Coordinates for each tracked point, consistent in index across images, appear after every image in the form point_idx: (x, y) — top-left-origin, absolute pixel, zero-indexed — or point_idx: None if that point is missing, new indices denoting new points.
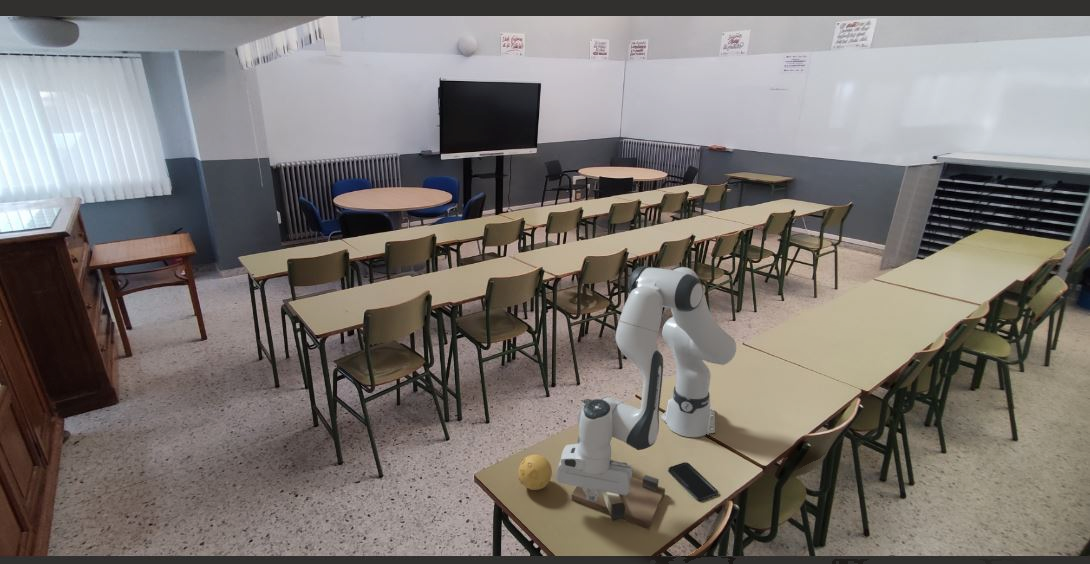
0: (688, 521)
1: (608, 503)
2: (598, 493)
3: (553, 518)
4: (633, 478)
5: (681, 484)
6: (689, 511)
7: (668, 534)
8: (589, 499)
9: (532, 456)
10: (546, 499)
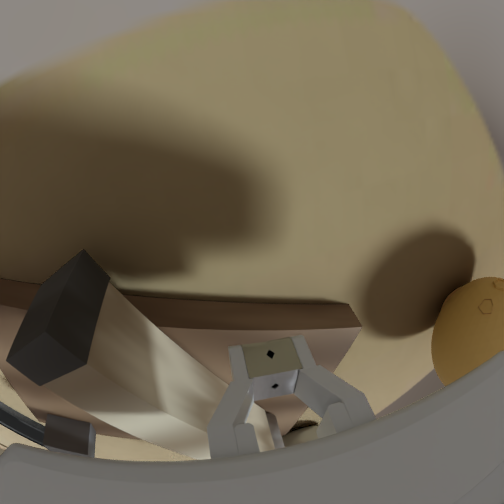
0: None
1: (145, 355)
2: (229, 416)
3: (421, 176)
4: (135, 437)
5: (36, 423)
6: None
7: None
8: (283, 341)
9: None
10: (434, 266)
